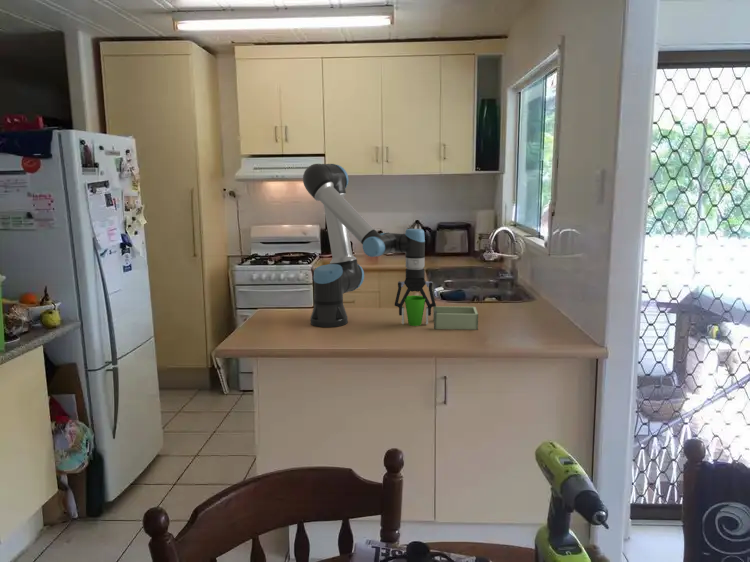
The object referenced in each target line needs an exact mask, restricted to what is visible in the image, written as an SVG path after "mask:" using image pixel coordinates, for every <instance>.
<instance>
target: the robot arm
mask: <svg viewBox="0 0 750 562" xmlns="http://www.w3.org/2000/svg"><path fill="white" fill-rule="evenodd" d="M302 183H303V186H304V188H305V189H306V192H307V193H308V194H309V195H310V196H311V197H312V198H313V199H314V200H315V201H316V202H319V201H320V203H322V205H323V209H324V215H325V216H324V217H325V221H326V222H325V223H326V227H327V235H328V240H329V245H330V252H331V256H332V257H331V260H330V261H329V264H322V265H319V266H317V267H316V268H315V269H314V270H313V299H314V302H313V303H314V305H313V309H312V311H311V315H310V325H311V326H314V327H318V328H336V327H341V326H345V325H347V324H348V320H349V319H348V318H349V317H348V315H347V311H346V308H345V305H344V294H346V293H349V292H353V291H355V290H358V289H359V288H360V287H361V285H362V284H363V283H364V280H365V271H364V269H363V267H362V266H361V265H360V264H358V259H357V257H356V256H354V254H353V251H352V250H353V249H352V245H351V239H350V234H351V235H353V237H355V238H356V240H358V241H359V243H360V244H361V245H362V250H363V252H364V254H365V255H366V256H367V257H371V258H375V257H377V258H378V257H380V256H383V255H387V254H392V253H404V254H405V267H406V269H405V279H404V281H400V280H399V281H398V282H397V287H398V288H397V293H396V297H395V300H394V301H395V302H394V306H395V307H396V308H398V316H401V324H402V325H404V324H405V307H404V305H405V299H406V298H407V296H409V294H410V292H419V293H420V294H421V296H423V298H424V299H425V305H426V307H425V308H426V309H425V318H426V319H425V325H429V317H430V316H431V315H432V308H433V307H435V305H436V306H437V303H436V300H435V297H434V292H433V281H426V280H425V279H426V278H425V277H426V276H425V275H426V274H425V273H426V272H425V266H426V265H425V261H426V260H425V257H426V256H425V251H426V250H425V249H426V247H425V246H426V245H425V244H426V240H425V239H426V238H425V237H426V236H425V231H424V229H422V228H407V229H405V232H404V233H398V232H397V233H396V232H394V233H393V232H382V233H379V232H378V231H377V230H376V229H375V228H374V227H373V226H372V224H370V223H369V222H368V221H367V220H366V219H365V218H364V217H363V216H362V214H360V213H359V211H357V210H356V209H355V208H354V207H353V205H352V204H351V203H349V201H347V199H345V197H346V195H347V191H346V188H347V187H348V186H349V175H348V172H347V171H346V169H345V168H344V167H342V166H341V165H340V164H335V163H313V164H311V165H309V166H307V168H306V169H305V170H304V172H303V175H302ZM349 232H350V233H349ZM404 285H405V287H406V291H405V293H404V294H403V297H402V299H401V300H400V296H401V291H402V288H403V287H404ZM425 286H426V287H427V288H428V292H429V297H430V299H431V300H429V299H428V296H427V295H426V292H425V291H424V290H425V289H423V288H424V287H425ZM404 298H405V299H404ZM399 300H400V302H399ZM430 301H431V302H430Z"/></svg>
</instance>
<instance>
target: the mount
mask: <svg viewBox="0 0 750 562" xmlns="http://www.w3.org/2000/svg"><path fill="white" fill-rule="evenodd" d="M432 308H433V310H432V311H433V312H432V314H433V317H432V318H433V329H434V330H477V331H478V330H479V313H478V312H479V311H478V310H477V307H476V306H437V304H436V305H435V307H432Z"/></svg>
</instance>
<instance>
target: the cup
mask: <svg viewBox="0 0 750 562" xmlns="http://www.w3.org/2000/svg"><path fill="white" fill-rule="evenodd" d="M404 299H405V298H404ZM404 305H405V311H406V316H407V322H408V325H409V326H412V327H418V326H421V325H422V323H423V315H424V310H425V305H426V302H425V299H424V298H423V296H422V295H408V296H407V298H406V299H405V302H404Z"/></svg>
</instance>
